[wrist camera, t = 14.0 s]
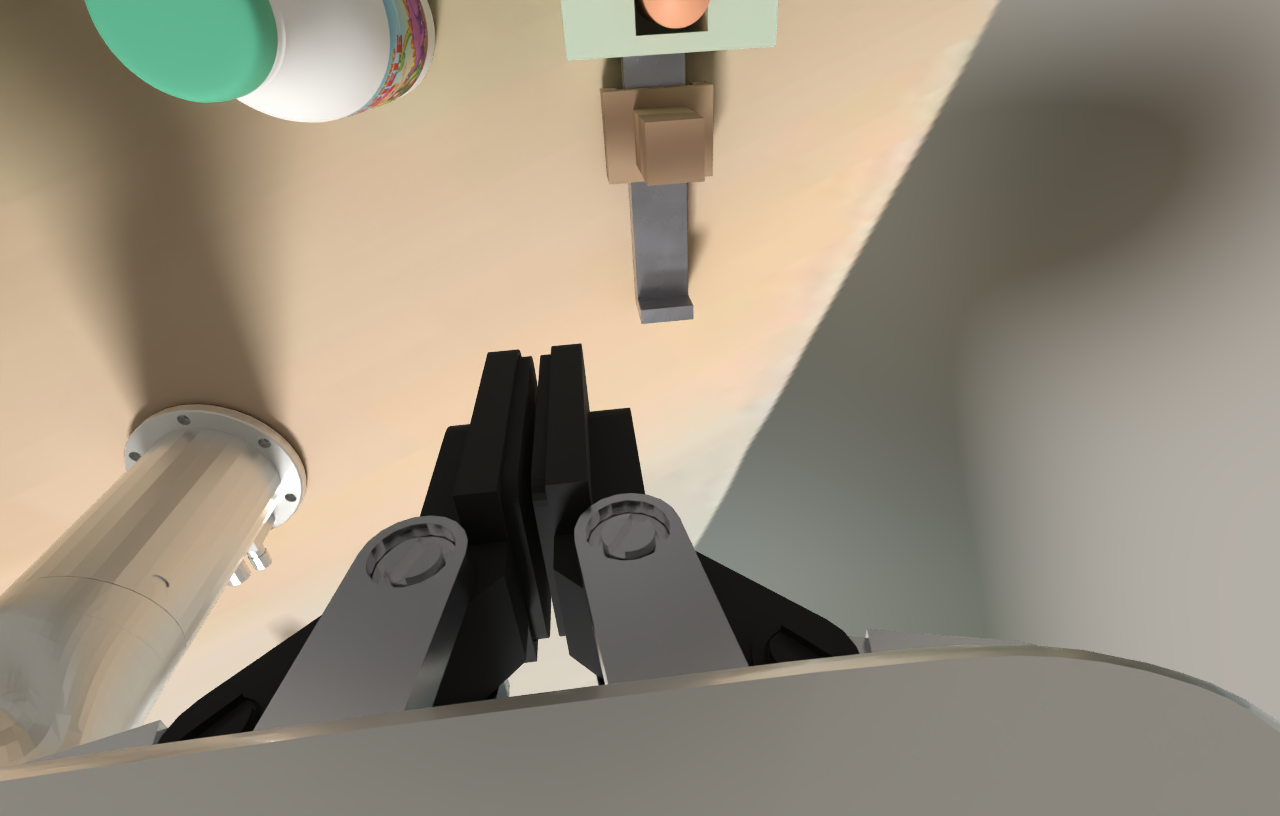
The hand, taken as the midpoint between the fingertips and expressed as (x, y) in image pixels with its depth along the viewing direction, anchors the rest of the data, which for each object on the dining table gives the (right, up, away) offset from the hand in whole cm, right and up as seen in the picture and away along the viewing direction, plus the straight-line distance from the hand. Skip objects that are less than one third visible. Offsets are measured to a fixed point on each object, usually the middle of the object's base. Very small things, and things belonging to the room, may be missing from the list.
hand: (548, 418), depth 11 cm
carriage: (+3, +18, +27) cm, 33 cm away
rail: (+3, +15, +29) cm, 33 cm away
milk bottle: (-14, +22, +23) cm, 35 cm away
